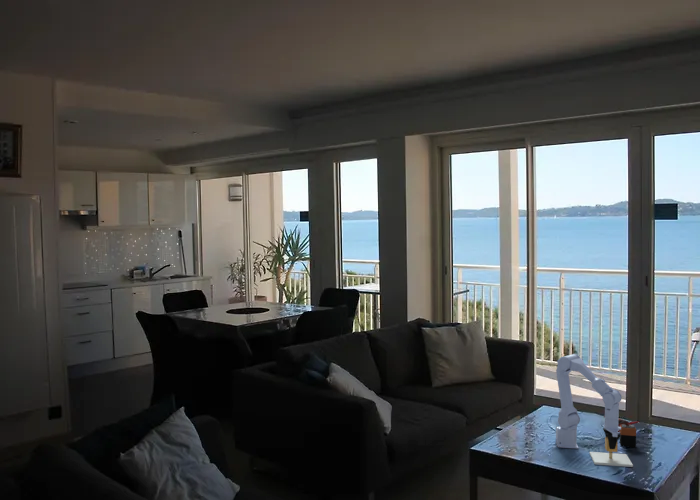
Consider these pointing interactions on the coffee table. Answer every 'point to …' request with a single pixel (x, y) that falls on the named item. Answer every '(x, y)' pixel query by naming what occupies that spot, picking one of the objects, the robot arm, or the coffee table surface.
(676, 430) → the coffee table surface
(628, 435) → the battery
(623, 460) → the plate
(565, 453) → the coffee table surface
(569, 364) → the robot arm
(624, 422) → the decorative bird figurine
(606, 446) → the tan cardboard-like box
